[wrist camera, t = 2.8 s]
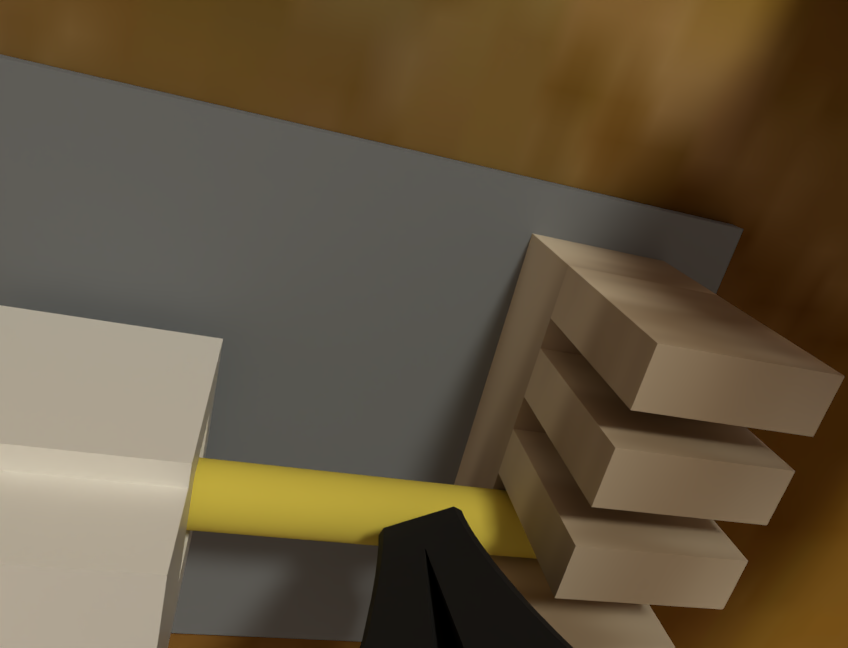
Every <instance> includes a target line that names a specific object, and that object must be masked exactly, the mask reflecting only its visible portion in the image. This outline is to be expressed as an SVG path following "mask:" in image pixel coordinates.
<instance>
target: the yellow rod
mask: <svg viewBox="0 0 848 648" xmlns="http://www.w3.org/2000/svg"><path fill="white" fill-rule="evenodd" d="M450 507H456V508H458V509H460V510H462V512H463V515H464V517H465V519H466V521H467V522H468V524H469V526H470V528H471V529H472V531H473V532H474V534H475V536H476V537H477V539H478V540H479V542H480V543H481V544H482V546H483V547H484V549H485V550H486V551H487V553H488V554H489V555H496V556H509V557H521V558H533V559H537V558H536V556H535V553H534V551H533V549H532V547H531V544H530V542H529V540H528V538H527V535H526V533H525V531H524V529H523V526H522V524H521V522H520V520H519V518H518V515H517V513H516V511H515V509H514V506H513V504H512V502H511V500H510V497H509V495H508V493H507V491H506V490H497V489H488V488H479V487H470V486H460V485H451V484H442V483H432V482H423V481H414V480H405V479H395V478H386V477H377V476H367V475H358V474H349V473H340V472H330V471H321V470H312V469H302V468H293V467H284V466H275V465H265V464H256V463H247V462H237V461H228V460H219V459H210V458H200V457H199V460H198V464H197V468H196V472H195V476H194V481H193V488H192V494H191V501H190V508H189V515H188V522H187V528H186V530H191V531H204V532H216V533H228V534H240V535H252V536H265V537H277V538H289V539H301V540H313V541H326V542H338V543H350V544H362V545H374V546H378V538H379V534H380V532H381V531H382V529H383V528H385V527H388V526H392V525H395V524H398V523H401V522H405V521H408V520H411V519H414V518H418V517H421V516H424V515H427V514H431V513H434V512H437V511H440V510H444V509H447V508H450Z"/></svg>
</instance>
